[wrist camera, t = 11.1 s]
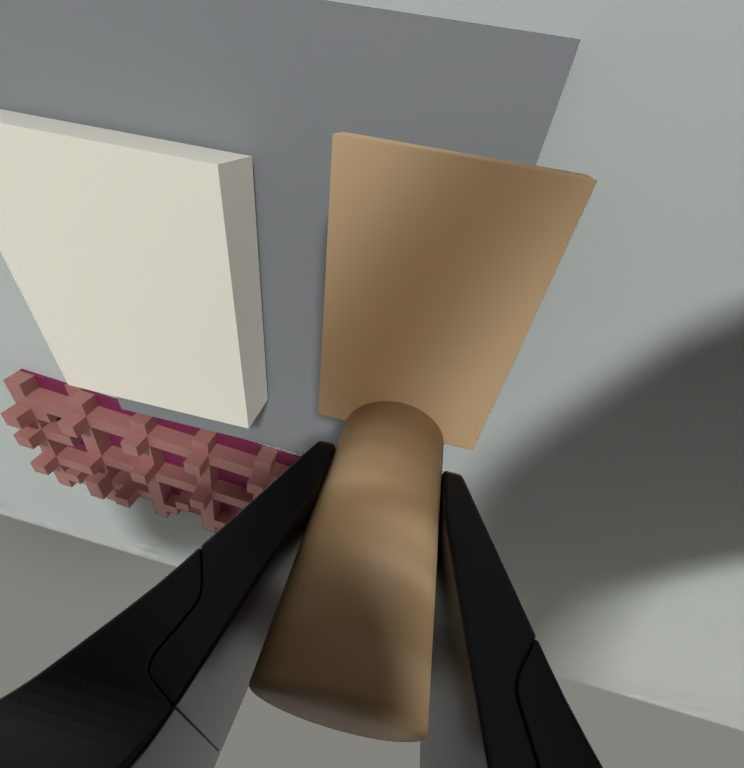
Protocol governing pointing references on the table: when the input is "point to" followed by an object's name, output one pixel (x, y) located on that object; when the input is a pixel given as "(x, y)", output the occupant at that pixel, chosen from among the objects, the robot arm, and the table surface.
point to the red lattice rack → (138, 452)
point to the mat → (282, 125)
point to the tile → (137, 263)
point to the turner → (404, 410)
